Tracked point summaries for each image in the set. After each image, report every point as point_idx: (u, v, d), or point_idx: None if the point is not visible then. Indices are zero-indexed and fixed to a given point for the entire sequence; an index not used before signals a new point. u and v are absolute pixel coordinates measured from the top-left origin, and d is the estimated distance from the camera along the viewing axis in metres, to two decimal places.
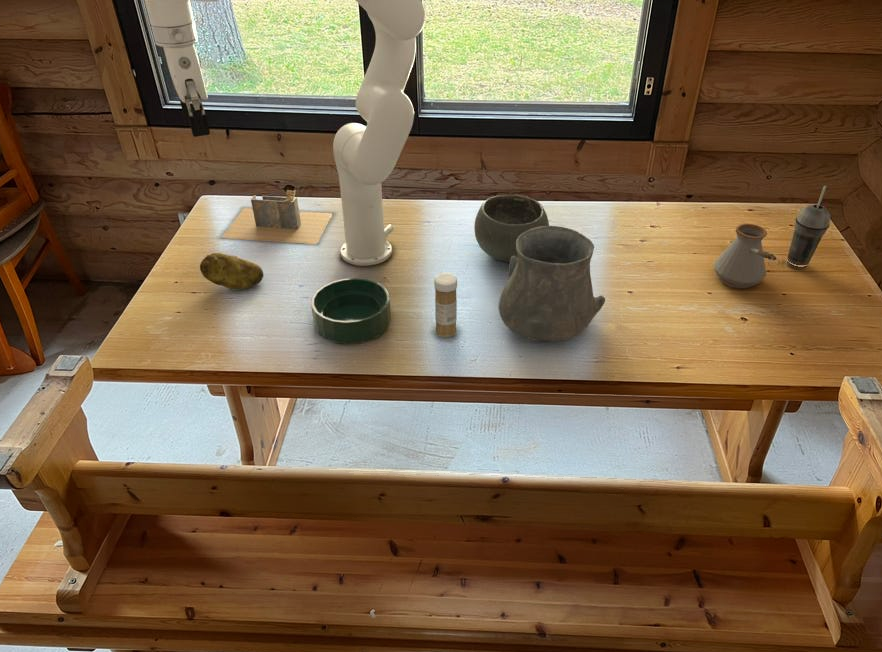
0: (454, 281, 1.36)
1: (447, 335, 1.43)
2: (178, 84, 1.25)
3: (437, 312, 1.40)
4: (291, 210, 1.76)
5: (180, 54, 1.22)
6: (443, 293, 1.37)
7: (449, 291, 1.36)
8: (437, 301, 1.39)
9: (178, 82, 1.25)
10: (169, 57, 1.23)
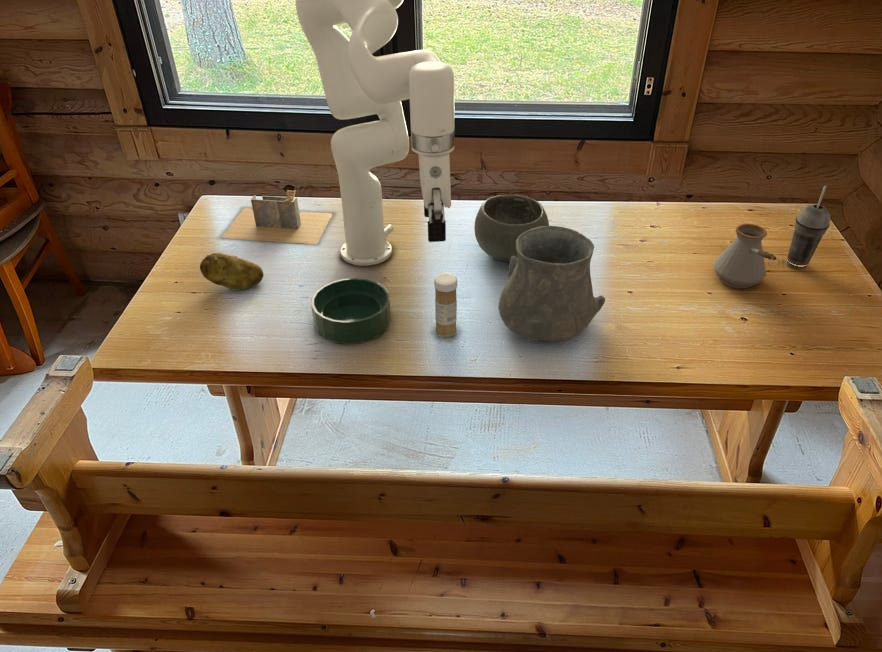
0: (454, 281, 1.36)
1: (447, 335, 1.43)
2: (424, 191, 1.20)
3: (437, 312, 1.40)
4: (291, 210, 1.76)
5: (433, 163, 1.17)
6: (443, 293, 1.37)
7: (449, 291, 1.36)
8: (437, 301, 1.39)
9: (425, 189, 1.20)
10: (421, 164, 1.19)
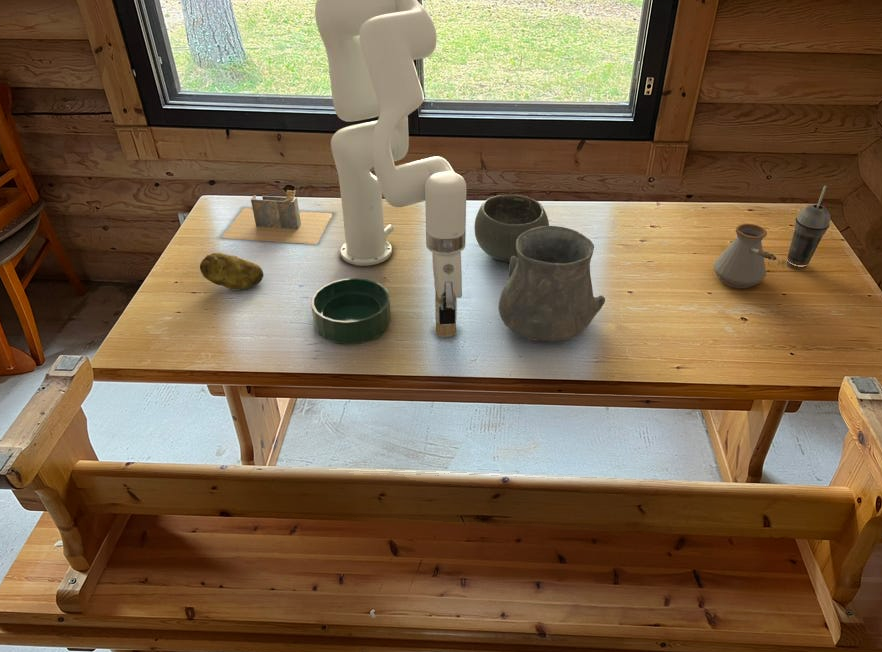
0: None
1: (447, 335, 1.43)
2: (438, 285, 1.32)
3: (437, 312, 1.40)
4: (291, 210, 1.76)
5: (446, 262, 1.29)
6: (443, 293, 1.37)
7: None
8: (437, 301, 1.39)
9: (438, 283, 1.32)
10: (435, 261, 1.30)
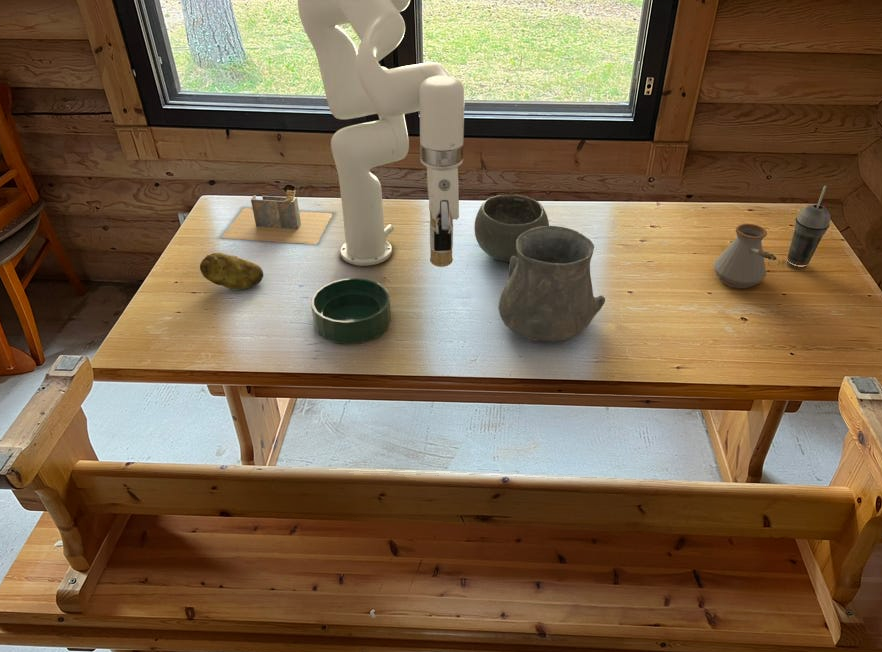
0: None
1: (442, 264, 1.33)
2: (433, 204, 1.21)
3: (432, 238, 1.30)
4: (291, 210, 1.76)
5: (442, 177, 1.18)
6: (438, 215, 1.26)
7: None
8: (432, 225, 1.28)
9: (433, 202, 1.21)
10: (430, 177, 1.20)
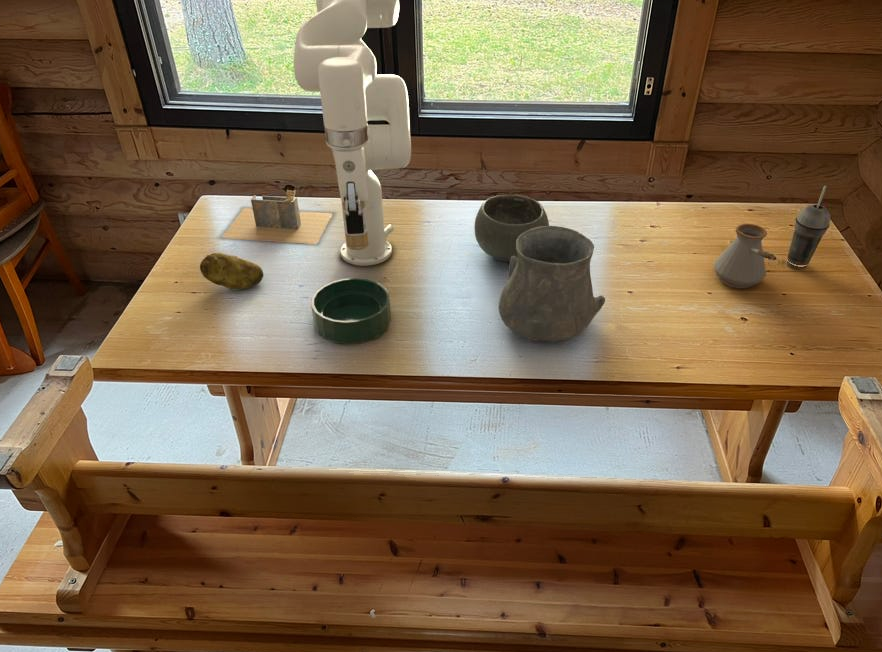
0: None
1: (357, 247, 1.33)
2: (339, 185, 1.22)
3: (345, 221, 1.31)
4: (291, 210, 1.76)
5: (346, 158, 1.19)
6: None
7: None
8: (343, 208, 1.29)
9: (340, 183, 1.22)
10: (335, 159, 1.20)
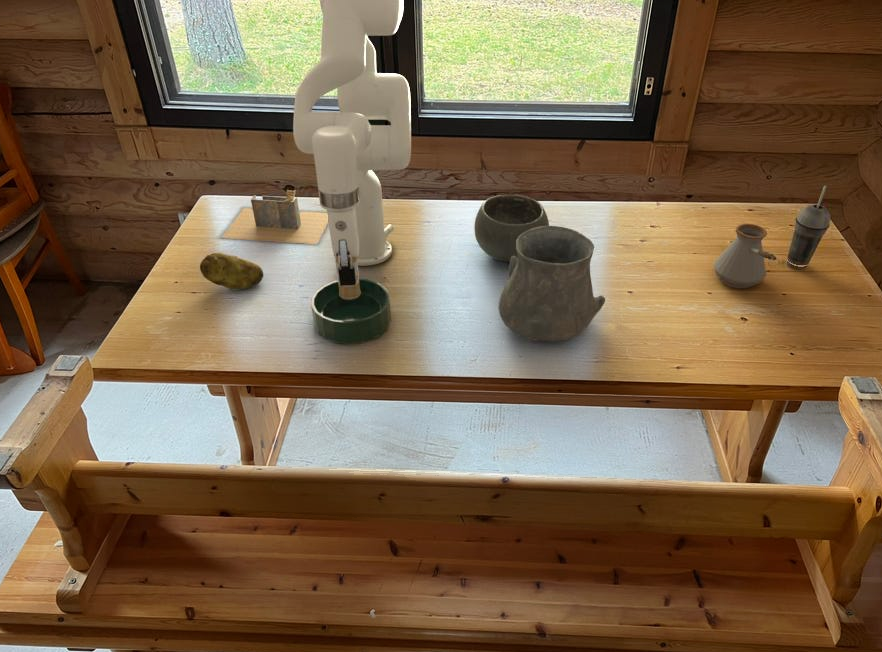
0: None
1: (350, 297, 1.41)
2: (332, 243, 1.30)
3: (338, 273, 1.38)
4: (291, 210, 1.76)
5: (338, 218, 1.27)
6: None
7: None
8: (336, 261, 1.37)
9: (332, 241, 1.30)
10: (328, 218, 1.28)
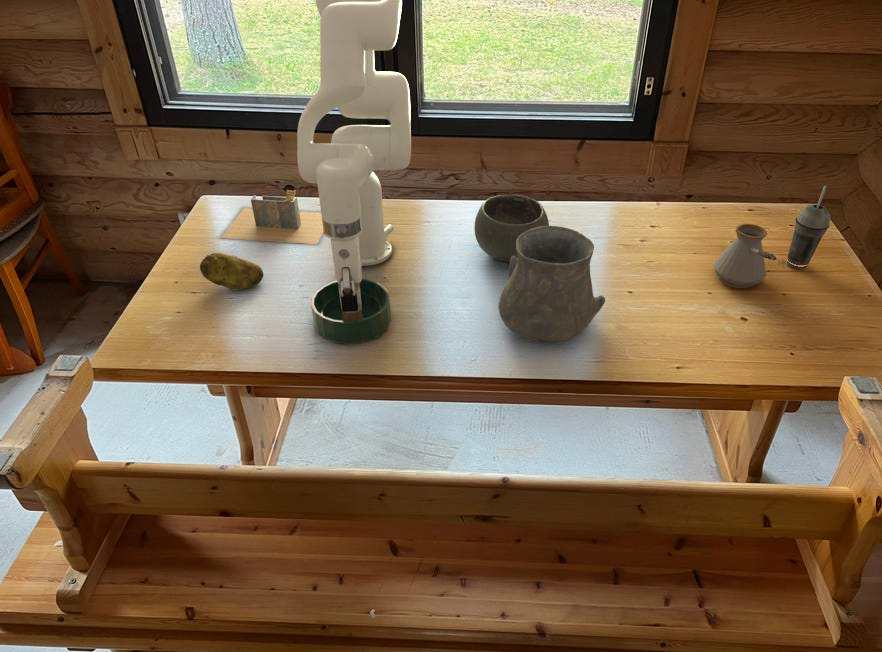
0: None
1: None
2: (335, 270, 1.34)
3: None
4: (291, 210, 1.76)
5: (341, 247, 1.31)
6: None
7: (350, 279, 1.38)
8: (340, 289, 1.41)
9: (336, 268, 1.34)
10: (332, 247, 1.32)
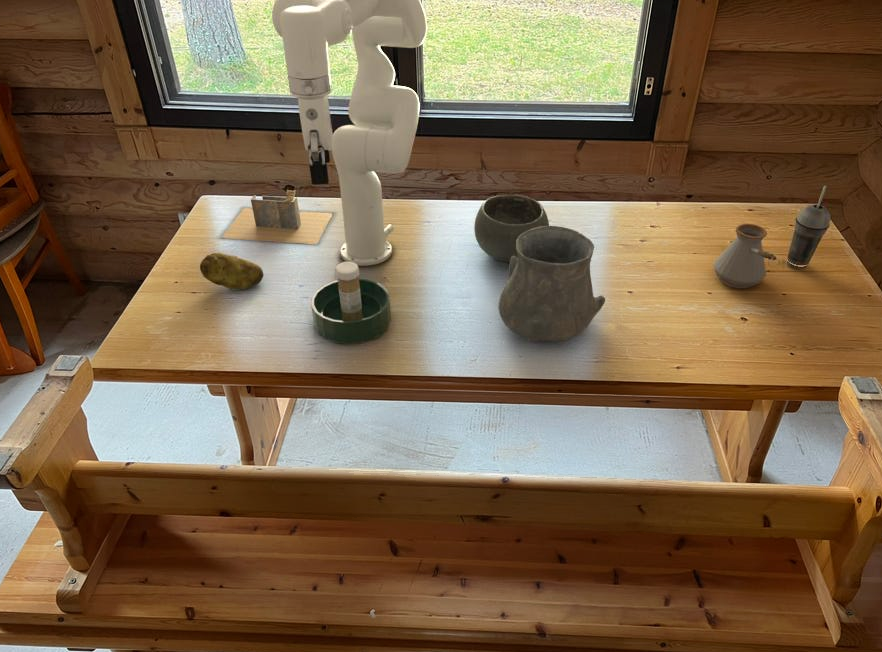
0: (354, 269, 1.38)
1: None
2: (303, 134, 1.25)
3: (341, 300, 1.43)
4: (291, 210, 1.76)
5: (308, 106, 1.22)
6: (344, 281, 1.39)
7: (350, 279, 1.38)
8: (340, 289, 1.41)
9: (303, 132, 1.25)
10: (299, 107, 1.23)
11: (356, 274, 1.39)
